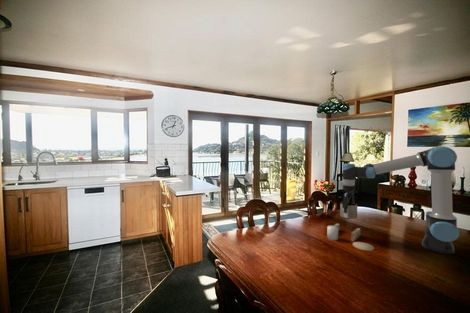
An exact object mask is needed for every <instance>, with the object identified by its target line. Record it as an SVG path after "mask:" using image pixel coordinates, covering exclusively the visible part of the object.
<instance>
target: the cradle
mask: <svg viewBox="0 0 470 313" xmlns="http://www.w3.org/2000/svg"><path fill="white" fill-rule="evenodd" d="M332 226H336V227H338V232H339V231H340V223H338V222H337V223H335V224H334V225H332ZM359 237H361V228H359V227H358V228H357V227H356V228H355V229H354V230H353V231H352V232H350V240H351V241H352V242H356V240H358V238H359Z"/></svg>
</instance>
